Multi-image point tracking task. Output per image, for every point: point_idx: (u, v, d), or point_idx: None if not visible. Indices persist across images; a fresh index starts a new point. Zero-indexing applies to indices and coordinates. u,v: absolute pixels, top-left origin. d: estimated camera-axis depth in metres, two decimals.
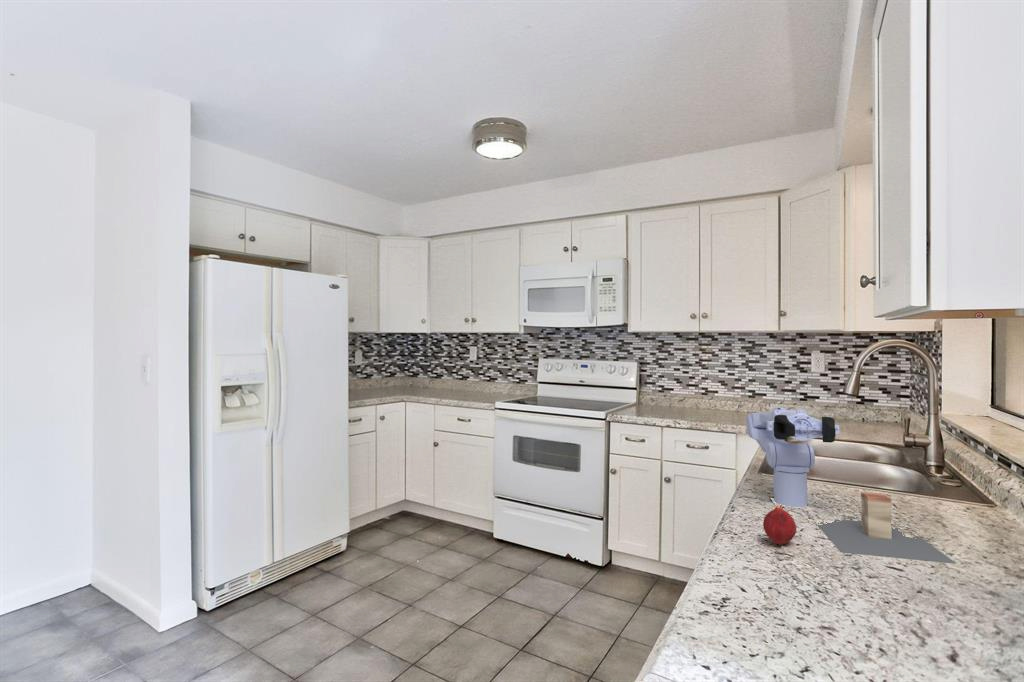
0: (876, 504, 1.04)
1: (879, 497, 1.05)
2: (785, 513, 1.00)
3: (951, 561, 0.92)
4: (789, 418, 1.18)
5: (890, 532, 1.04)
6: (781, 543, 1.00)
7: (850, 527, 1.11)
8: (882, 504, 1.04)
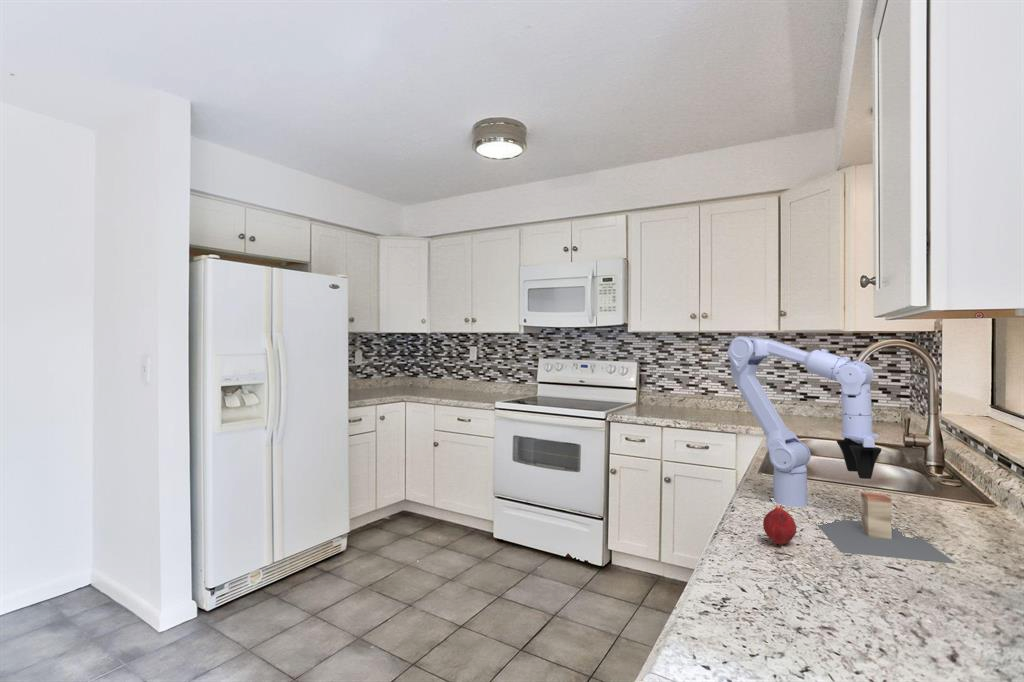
0: (876, 504, 1.04)
1: (879, 497, 1.05)
2: (785, 513, 1.00)
3: (951, 561, 0.92)
4: None
5: (890, 532, 1.04)
6: (781, 543, 1.00)
7: (850, 527, 1.11)
8: (882, 504, 1.04)
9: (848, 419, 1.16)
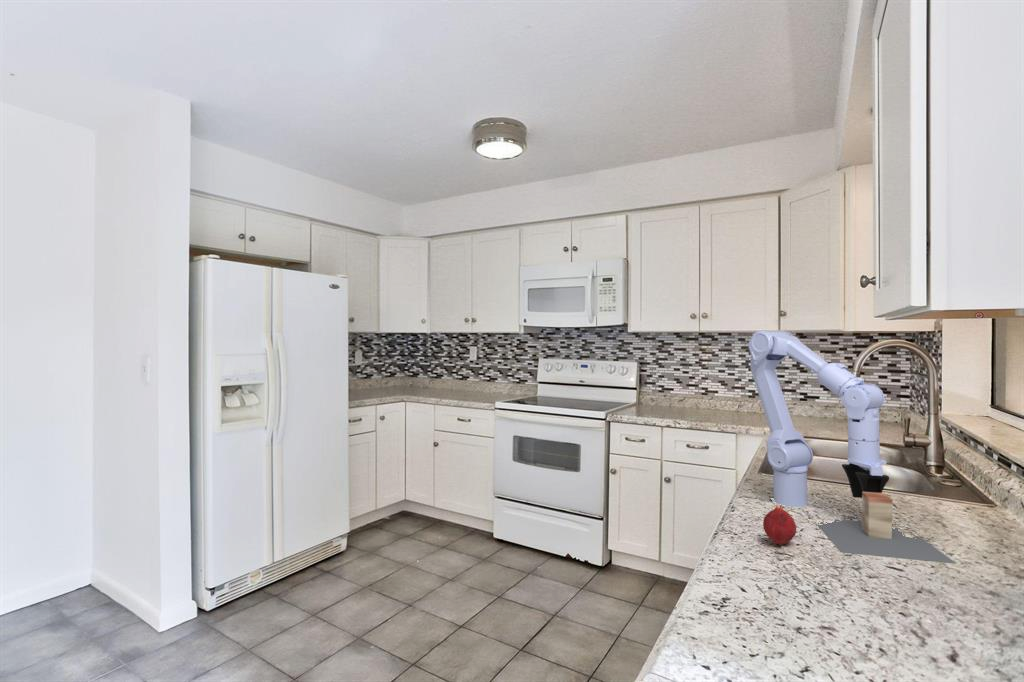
0: (877, 505, 1.04)
1: (880, 498, 1.04)
2: (785, 513, 1.00)
3: (951, 561, 0.92)
4: None
5: (890, 532, 1.04)
6: (781, 543, 1.00)
7: (850, 527, 1.11)
8: (883, 505, 1.04)
9: (855, 444, 1.11)
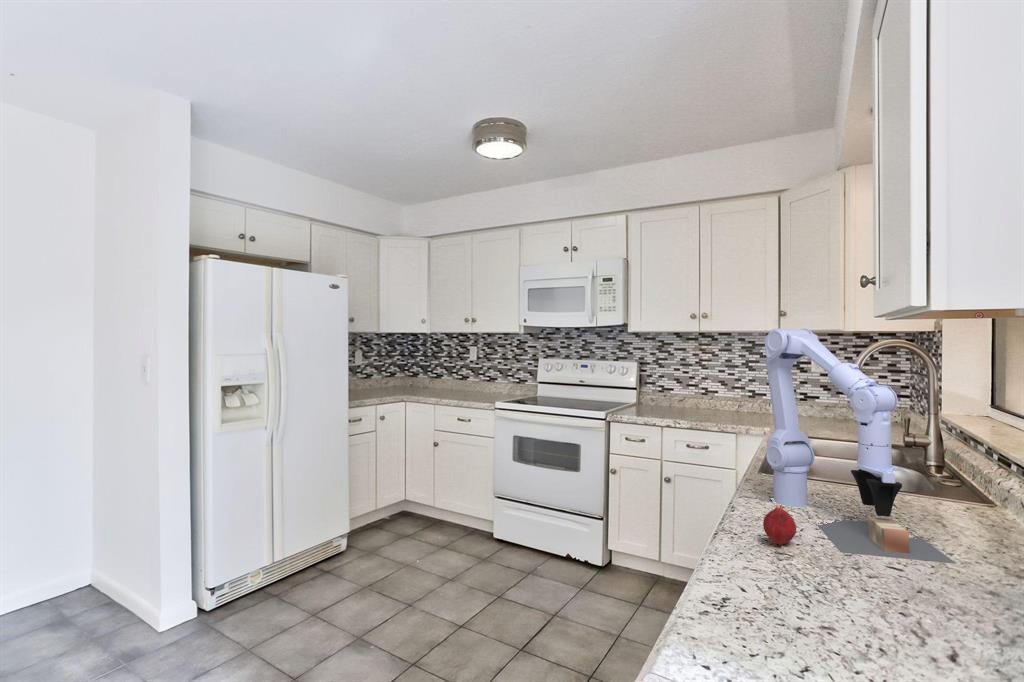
0: None
1: (898, 549, 0.96)
2: (785, 513, 1.00)
3: (951, 561, 0.92)
4: None
5: None
6: (781, 543, 1.00)
7: (850, 527, 1.11)
8: None
9: (865, 449, 1.06)
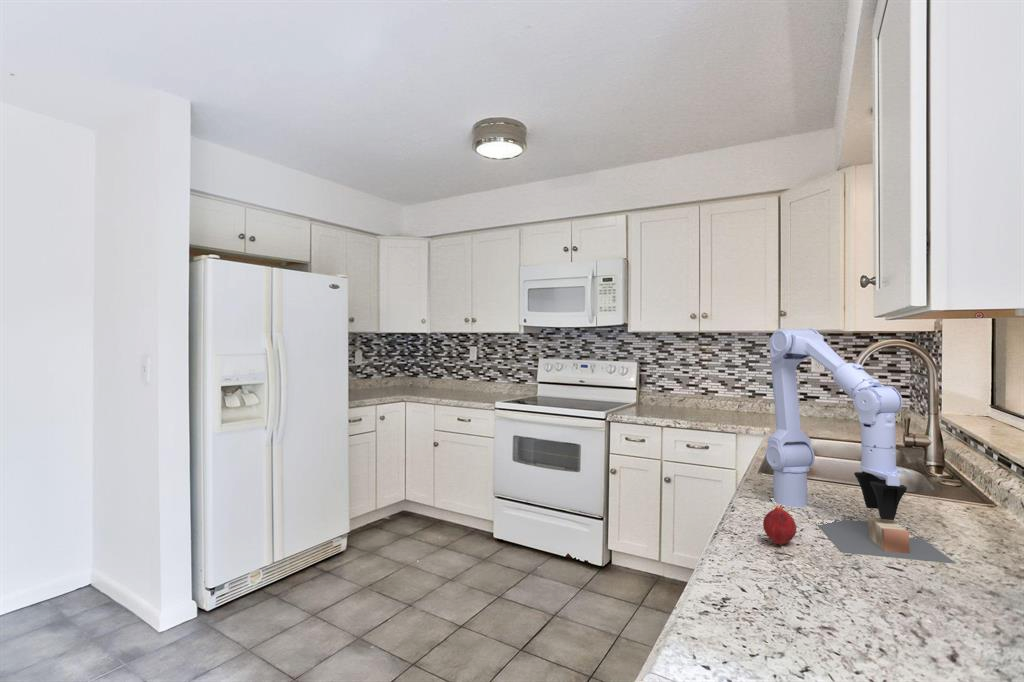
0: None
1: (898, 549, 0.96)
2: (785, 513, 1.00)
3: (951, 561, 0.92)
4: None
5: None
6: (781, 543, 1.00)
7: (850, 527, 1.11)
8: None
9: (869, 452, 1.03)
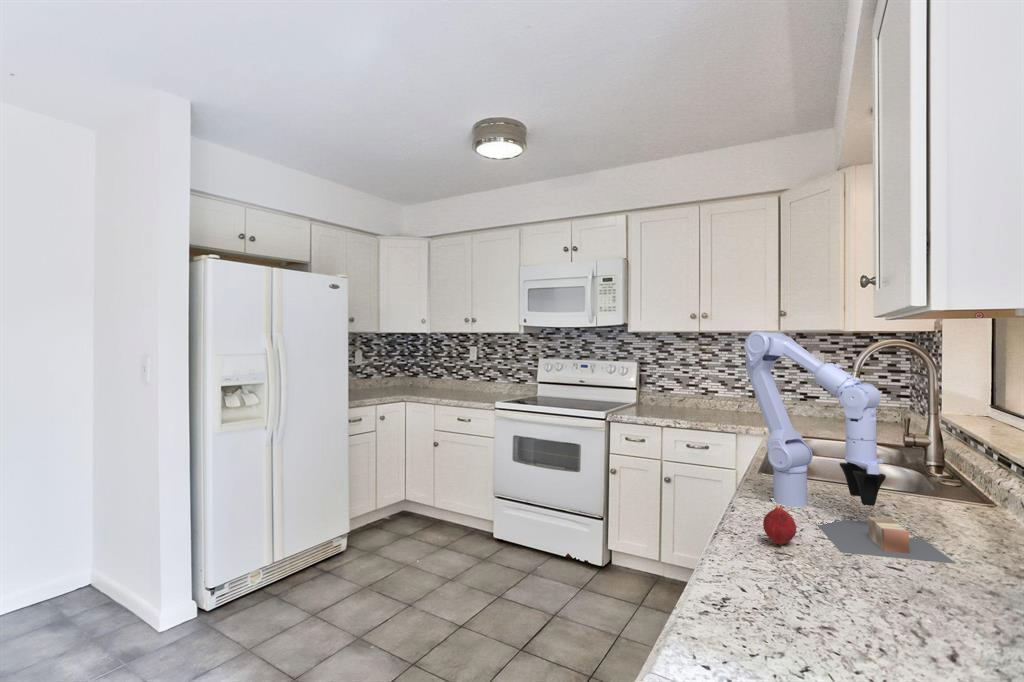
0: None
1: (898, 549, 0.96)
2: (785, 513, 1.00)
3: (951, 561, 0.92)
4: None
5: None
6: (781, 543, 1.00)
7: (850, 527, 1.11)
8: None
9: (852, 443, 1.13)
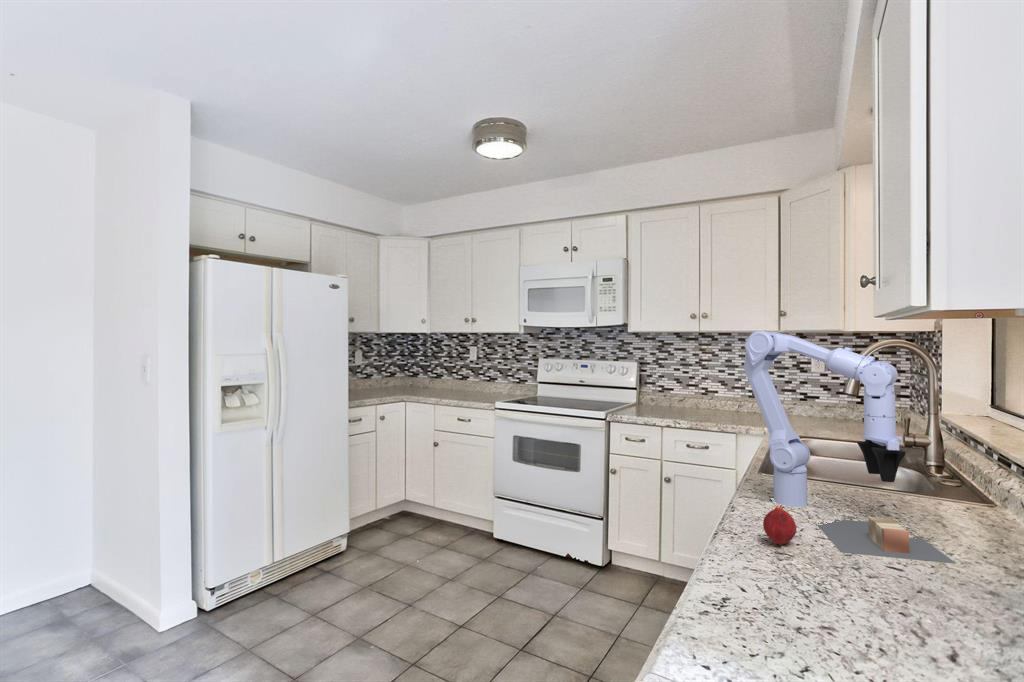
0: None
1: (898, 549, 0.96)
2: (785, 513, 1.00)
3: (951, 561, 0.92)
4: None
5: None
6: (781, 543, 1.00)
7: (850, 527, 1.11)
8: None
9: (871, 421, 1.13)
